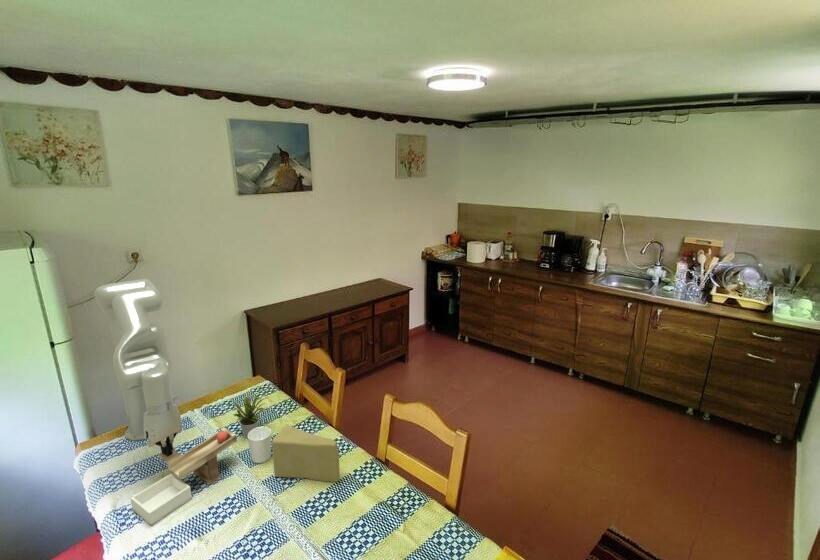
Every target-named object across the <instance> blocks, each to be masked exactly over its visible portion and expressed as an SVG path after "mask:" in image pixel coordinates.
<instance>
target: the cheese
mask: <svg viewBox="0 0 820 560" xmlns="http://www.w3.org/2000/svg"><path fill="white" fill-rule="evenodd" d="M271 449H272V459H273V460H272V461H273V471H274V472H273V473H274V477H277V478H296V479H299V478H300V479H309V480H315V481H321V482H331V483H338V482H339V481H340V478H341V477H340V456H339V455H340V454H339V448H338V442H337V441H336V440H334V439H332V438H328V437H325V436H321V435H317V434H313V433H311V432H306V431H305V430H301V429H299V428H296V427H294V426H291V425H289V424H288V425H287V424H286V425H284V427H283V428H282V429H281V430H280V431H279V432H278V433H277V434H276V435H275V436H274V437H273V439H272V440H271Z"/></svg>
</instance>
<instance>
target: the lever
mask: <svg viewBox="0 0 820 560" xmlns="http://www.w3.org/2000/svg"><path fill="white" fill-rule="evenodd" d="M222 431H224V432H226V433H227V435H228V437H227V439H226V441H224V442H219V441H218V440H217V435H218V433H220V432H222ZM237 442H238V438H237V434H236V433H234V432H232V430H231V431H230V430H229V429H227V428H226V427H222V428H220V431H218V432H216V433H214V434H212V435H211V436H210V437H209V438H207V439H205V440H204V441H202V442H200V443H199V444H197V445H196V446H193V447H192V448H191V449H189V450H188V451H186V452H185V453H183V454H181V453H179V452H178V451H176V450H175V449H173V450H172V452H173V454H172V455H170V456H168V457H167V456H166V455H163V454H162V452H161V453H158V458H160V459H161V460H162V461H163V462H165V463H167V464H166V465H167V469H168V471H169V472H171V473H172V474H173V475H174V476H176V477H177V478H179V479H180V480H183V479H184V478H186V477H187V476H189V475H190V474H191V473H193V471H194V470H196V469H197V468H199V467H200V466H202V465H203V464H205V463H206V462H207V461H208V460H207V459H209V458H211V457H212V456H214V455H217V456H218V455H219V454H221V453H222V452H224V451H225V450H227V449H229V448H230V447H231V446H232V445H234V444H236V443H237Z"/></svg>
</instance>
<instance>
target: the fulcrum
mask: <svg viewBox="0 0 820 560" xmlns="http://www.w3.org/2000/svg"><path fill="white" fill-rule="evenodd" d="M207 460H208V461H207V462H206V463H205V464H203V465H202V466H200V467H199V468H197V469H196V470H194V471H193V472H192V473H193V474H194V475H195V476H197V477H199V478H200V479H201V480H203V481H204V482H206V483H207V484H209V485H212V484H213V483H215V482H216V481H218V480H219V479H221V478H222V474H221V473H220V472H219V471H220V470H219V465H218V464H219V463H218V455H214V456H212V457H211V458H209V459H207Z"/></svg>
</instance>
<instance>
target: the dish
mask: <svg viewBox="0 0 820 560" xmlns="http://www.w3.org/2000/svg"><path fill="white" fill-rule="evenodd" d="M191 489H192V488H191V486H190V485H189V484H187V483H186V482H184V481H183V479H180V478H179V477H178V476H176V475H175V474H173V473H172V472H171V473H169V474H167V475H165V477H163V478H161V479H159V480H158V481H156V482H154V483H152V484H151V485H149V486H147V487H146V488H144V489H143V490H141V491H139V492H138V493H136V494H135V495H132V496H131V497H130V503H131V508H132V511H133V512H134V513H136V514H137V515H138V516H139V517H141V518H142V519H143V520H144V521H145V522H146V523H147V524H148V525H150V526H151V527H152V526H154V525H155V524H156V523H158V522H160V521H161V520H162V519H164V518H165V517H168V515H170V514H171V513H173V512H174V511H176V510H177V509H179V508H180V507H181V506H183V505H184V504H186V503H187V502H189V501H190V500H192V498H193V496H192V490H191Z"/></svg>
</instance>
